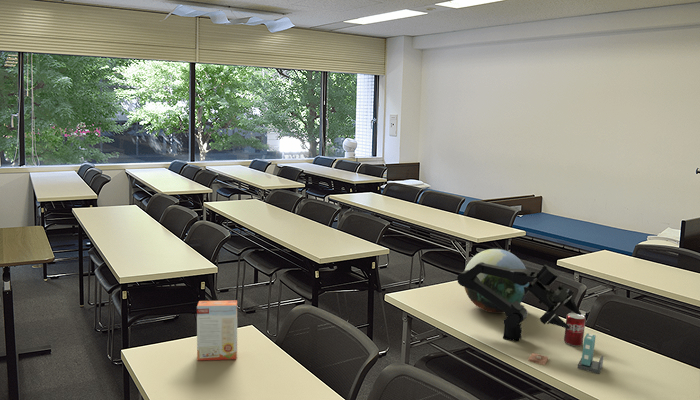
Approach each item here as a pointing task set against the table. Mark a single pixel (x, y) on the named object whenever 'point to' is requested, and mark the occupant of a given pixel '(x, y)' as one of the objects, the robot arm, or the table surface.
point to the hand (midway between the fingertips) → (574, 321)
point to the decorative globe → (496, 279)
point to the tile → (538, 358)
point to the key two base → (592, 366)
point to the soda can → (574, 329)
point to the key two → (588, 349)
